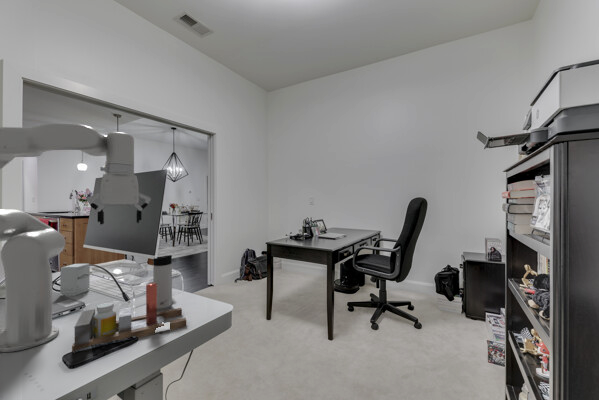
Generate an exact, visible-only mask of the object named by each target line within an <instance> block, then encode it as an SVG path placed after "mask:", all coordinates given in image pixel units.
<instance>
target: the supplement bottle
mask: <svg viewBox="0 0 599 400" xmlns="http://www.w3.org/2000/svg"><path fill="white" fill-rule="evenodd" d="M114 307H115V306H114V302H110V301H109V302H105V303H101V304H98V305H97V306H96V312H95V315H94V332H93V338H98V337H102V336H107V335H111V334H116V333H117V330H116V321H117V311H116V309H114Z"/></svg>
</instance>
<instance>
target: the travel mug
mask: <svg viewBox="0 0 599 400" xmlns="http://www.w3.org/2000/svg"><path fill="white" fill-rule="evenodd" d="M172 257H173V255H172V254H169V255H168V254H167V255H162V256H158V257H154V258H153V261H152V262H153V267H152V268H153V270H152V274H153V276H152V278H153V281H152V283H157V312H162V311H167V310H171V308H172V307H173V265H172V264H173V263H172V260H173V259H172Z"/></svg>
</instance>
